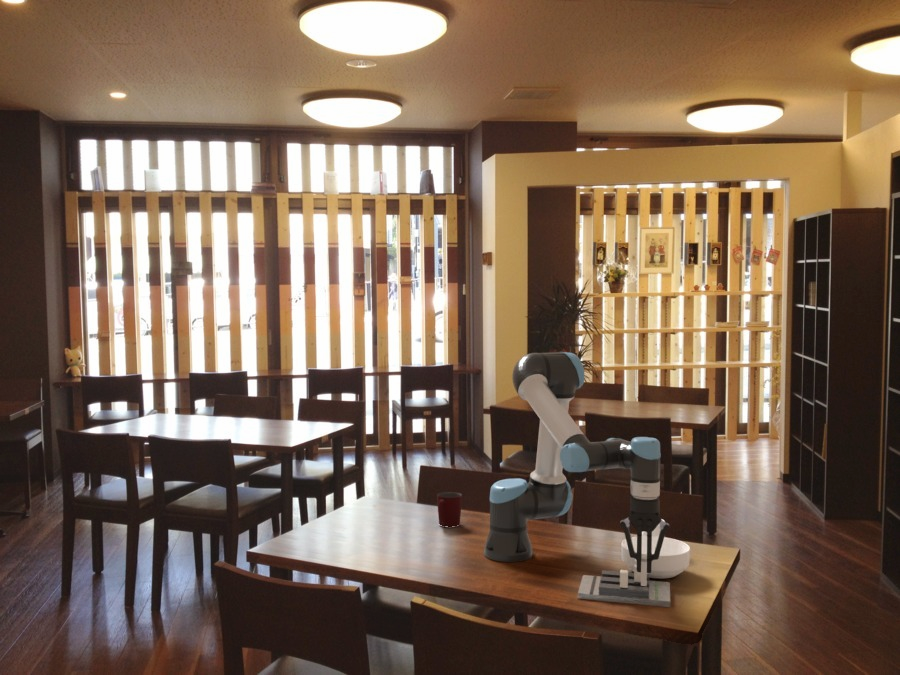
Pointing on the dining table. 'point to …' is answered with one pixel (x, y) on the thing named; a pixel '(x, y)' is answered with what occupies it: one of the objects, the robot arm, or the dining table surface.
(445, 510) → the mug
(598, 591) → the panel
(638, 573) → the block
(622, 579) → the breaker near
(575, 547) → the dining table surface
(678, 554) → the bowl
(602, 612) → the dining table surface
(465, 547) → the dining table surface
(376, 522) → the dining table surface
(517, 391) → the robot arm
